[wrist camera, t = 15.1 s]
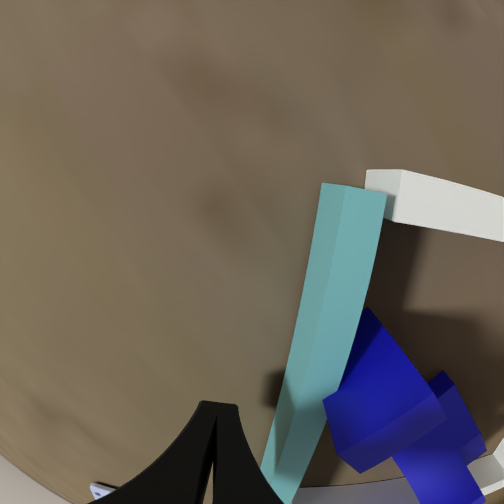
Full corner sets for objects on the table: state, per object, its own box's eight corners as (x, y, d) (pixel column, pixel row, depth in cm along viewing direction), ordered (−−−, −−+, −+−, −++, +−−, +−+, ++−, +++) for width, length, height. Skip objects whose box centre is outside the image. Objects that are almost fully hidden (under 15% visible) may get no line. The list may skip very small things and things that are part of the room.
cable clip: (465, 421, 14) (508, 483, 9) (406, 462, 15) (437, 531, 9) (395, 283, 12) (477, 356, 6) (307, 347, 13) (336, 454, 7)
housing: (498, 460, 16) (517, 488, 12) (286, 499, 15) (290, 546, 12) (592, 236, 11) (630, 249, 8) (366, 170, 11) (414, 169, 7)
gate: (273, 493, 15) (275, 532, 12) (253, 492, 15) (252, 532, 12) (354, 188, 11) (387, 194, 8) (321, 182, 11) (345, 185, 8)
